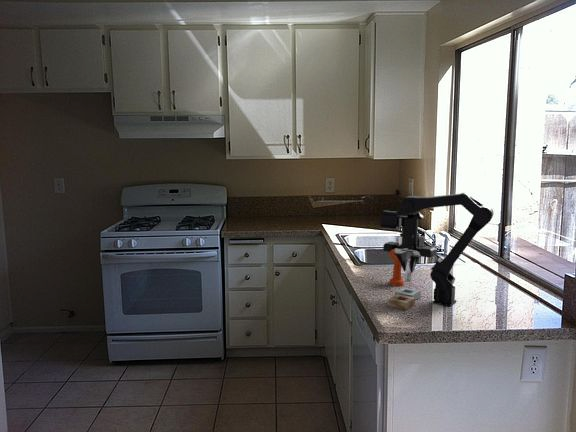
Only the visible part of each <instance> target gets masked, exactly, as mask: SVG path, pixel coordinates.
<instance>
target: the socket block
mask: <svg viewBox="0 0 576 432" xmlns="http://www.w3.org/2000/svg"><path fill="white" fill-rule="evenodd" d="M387 300H388V301H387V305H388V306H387V307H392V308H397V309H401V310H404V311H406V310H408V309H410V308H412V307H414V306H415V305H416V300H415V298H413V297H409V296H404V295H399V294H397V295H395V294H394V296H392V297H389V298H388V299H387Z"/></svg>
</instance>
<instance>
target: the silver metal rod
mask: <svg viewBox="0 0 576 432" xmlns="http://www.w3.org/2000/svg"><path fill="white" fill-rule="evenodd" d="M404 274H405V275H404V278H405V279H404V282H407V283H412V281H413V279H412V278H413V277H412V276H413V273H411V269H410V258H409V259H407V260H406V264H405V273H404Z"/></svg>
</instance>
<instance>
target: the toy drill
mask: <svg viewBox="0 0 576 432" xmlns="http://www.w3.org/2000/svg"><path fill="white" fill-rule="evenodd" d="M394 253H395V250H394V249H393V250H392V251H391V252H388V255H389V257H390V258H391V261H392V262H393V268H392V269H393V270H392V277H391V278H390V279H389V280H388V283H389V284H390V285H392V286H394V287H404V285H405V284H404V282H405V281H404V280H403V278H402V265H401V263H400V261H399V259H398V258H397V256H396V255H394Z"/></svg>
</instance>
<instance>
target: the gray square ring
mask: <svg viewBox="0 0 576 432" xmlns="http://www.w3.org/2000/svg"><path fill="white" fill-rule="evenodd" d="M421 292H422V291H421V290H419V289H412V288H407V287H401V288H399V289H398V290H396V291H394V296H395V295H397V294H399V295H404V296H409V297H413V298H415V301H417V300H418V299H419V298H421V294H422V293H421Z"/></svg>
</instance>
